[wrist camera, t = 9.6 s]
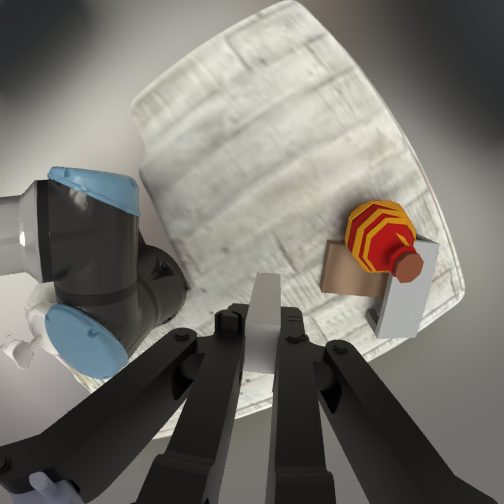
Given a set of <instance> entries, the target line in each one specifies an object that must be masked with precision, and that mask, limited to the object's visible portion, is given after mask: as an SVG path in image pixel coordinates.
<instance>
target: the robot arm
mask: <svg viewBox="0 0 504 504" xmlns="http://www.w3.org/2000/svg"><path fill="white" fill-rule="evenodd" d="M48 178H49V179H48V180H35V181H34V182H33V183H32V184H31V185H30V187H29V188H28V189H27V190H26V191H25V192H24V193H23V194H22V195H18V196H9V197H0V276H2V275H9V274H15V273H21V272H26V273H28V274H30V275H31V276H32V277H33V278H35V279H36V280H37V281H38V282H39V283H46V282H52V281H54V287H55V294H56V300H57V303H56V304H53V305H52V306H50V308H49V310H48V311H47V314H46V315H45V328H46V332H47V335H48V337H49V339H50V341H51V343H52V345H53V346H54V348H55V349H56V351H57V352H58V353H59V355H60V356H61V357H62V358H63V359H64V360H65V361H66V362H67V363H68V364H69V365H71V366H72V367H73V368H74V369H76V370H77V371H79V372H81V373H82V374H84V375H87V376H89V377H92V378H96V379H108V378H110V377H112V376H113V377H112V378H111V379H110V380H108V381H107V382H106V383H105V384H103V385H102V386H101V387H100V388H98V389H97V390H96V391H95V392H93V393H92V394H91V395H90V396H88V397H87V398H86V399H84V400H83V401H82V402H81V403H79V404H78V405H77V406H76V407H74V408H73V409H72V410H70V411H69V412H68V413H67V414H65V415H64V416H63V417H62V418H60V419H59V420H58V421H56V422H55V423H54V424H53V425H51V426H50V427H49V428H47V429H46V430H45V431H44V432H42V433H41V434H39V435H36V436H33V437H30V438H27V439H24V440H21V441H18V442H14V443H11V444H7V445H4V446H1V447H0V484H1V485H2V486H3V487H4V488H5V489H6V490H7V491H8V492H9V494H10V496H11V499H12V501H13V504H87V503H89V502H90V501H92V500H93V499H95V498H96V497H98V496H99V495H100V494H101V493H102V492H104V491H105V489H107V488H108V487H109V486H110V485H111V484H112V483H113V482H114V480H115V479H116V478H117V477H118V476H119V475H120V474H121V473H122V472H123V471H124V470H125V469H126V467H127V466H128V465H129V464H130V463H131V462H132V461H133V460H134V459H135V458H136V456H137V455H138V454H139V453H140V452H141V451H142V450H143V449H144V447H145V446H146V445H147V444H148V443H149V442H150V441H151V440H152V438H153V437H154V436H155V435H156V434H157V433H158V432H159V430H160V429H161V428H162V427H163V426H164V425H165V423H166V422H167V421H168V420H169V419H170V418H171V416H172V415H173V414H174V413H175V412H176V410H177V409H178V408H179V407H180V406H181V404H182V403H183V402H184V401H185V400H186V398H187V400H186V402H185V405H184V407H183V410H182V412H181V415H180V417H179V419H178V422H177V424H176V427H175V429H174V432H173V434H172V437H171V439H170V442H169V444H168V447H167V449H166V451H165V453H164V454H158V455H157V456H156V457H155V459H154V461H153V463H152V465H151V468H150V470H149V473H148V474H147V477H146V479H145V481H144V484H143V486H142V489H141V491H140V493H139V496H138V498H137V500H136V502H134V503H131V504H218V497H219V492H220V487H221V483H222V477H223V473H224V468H225V463H226V458H227V453H228V448H229V443H230V439H231V433H232V428H233V423H234V418H235V413H236V408H237V403H238V398H239V393H240V387H241V382H242V374H243V371H247V372H258V373H270V374H275V375H274V382H273V389H272V392H273V403H272V420H271V435H270V450H269V463H268V476H267V488H266V499H265V504H336V497H335V487H334V480H333V475H332V473H331V472H329V471H327V469H326V464H325V453H324V444H323V435H322V427H321V418H320V410H319V403H318V400H319V402H320V404H321V406H322V408H323V410H324V412H325V414H326V416H327V418H328V420H329V422H330V424H331V426H332V428H333V430H334V432H335V434H336V436H337V439H338V440H339V443H340V445H341V446H342V449H343V451H344V453H345V455H346V457H347V459H348V461H349V463H350V465H351V467H352V469H353V470H354V473H355V475H356V477H357V479H358V481H359V483H360V485H361V487H362V489H363V491H364V493H365V495H366V497H367V499H368V501H369V503H370V504H498V503H497V502H496V501H495V500H494V499H493V498H491V497H489V496H487V495H486V494H484V493H482V492H481V491H479V490H477V489H476V488H474V487H472V486H471V485H469V484H468V483H466V482H464V481H463V480H461V479H460V478H458V477H457V476H455V475H454V474H453V472H452V471H451V470H450V468H449V467H448V466H447V464H446V463H445V462H444V460H443V459H442V458H441V456H440V455H439V454H438V452H437V451H436V450H435V448H434V447H433V446H432V444H431V443H430V442H429V440H428V439H427V438H426V437H425V435H424V434H423V433H422V431H421V430H420V429H419V427H418V426H417V425H416V424H415V423H414V421H413V420H412V418H411V417H410V416H409V415H408V413H407V412H406V411H405V410H404V408H403V407H402V406H401V404H400V403H399V402H398V401H397V399H396V398H395V397H394V396H393V394H392V393H391V392H390V391H389V389H388V388H387V387H386V386H385V384H384V383H383V382H382V381H381V380H380V378H379V377H378V375H377V374H376V373H375V372H374V370H373V369H372V368H371V367H370V366H369V364H368V363H367V362H366V361H365V359H364V358H363V357H362V356H361V354H360V353H359V352H358V351H357V349H356V348H355V347H354V346H353V345H352V344H351V343H349V342H347V341H344V340H332V341H329V342H328V343H326V346H325V347H324V346H319V345H316V344H313V343H311V342H310V341H309V337H308V335H306V334H305V330H304V323H303V318H302V312H301V311H300V310H299V309H298V308H296V307H281V291H280V274H269V273H257V275H256V279H255V283H254V288H253V292H252V296H251V301H250V305H247V304H236V303H233V304H232V305H230V306H229V307H228V309H226V310H221V311H219V312H217V313H216V314H215V332H214V334H213V335H211V336H205V337H197V333H196V332H195V331H194V330H192V329H189V328H176V329H173V330H171V331H169V332H168V333H167V334H166V335H165V336H163V337H162V338H161V339H160V340H158V341H157V342H156V343H155V344H153V345H152V346H151V347H150V348H148V349H147V350H146V351H145V352H143V353H142V354H141V355H140V356H138V357H137V358H136V359H135V360H133V361H132V362H131V363H130V364H128V365H127V366H126V364H127V363H128V360H129V358H130V357H131V356H132V355H133V353H134V352H135V351H136V349H137V348H138V347H139V346H140V344H141V343H142V342H143V341H144V339H145V338H146V337H147V335H148V334H149V333H150V332H151V330H152V329H153V328H156V327H158V326H161V325H163V324H166V323H168V322H169V321H171V320H172V319H173V318H174V317H175V316H176V315H177V314H178V312H179V311H180V310H181V308H182V306H183V304H184V302H185V298H186V283H185V279H184V276H183V273H182V271H181V269H180V268H179V266H178V264H177V263H176V262H175V261H174V259H173V258H172V257H171V256H170V255H168V254H167V253H165V252H164V251H163V250H161V249H159V248H156V247H153V246H150V245H138V224H139V217H140V213H139V204H138V203H139V202H138V201H139V189H138V185H137V183H136V182H135V180H134V179H133V178H131V177H129V176H125V175H121V174H115V173H109V172H102V171H95V170H87V169H77V168H64V167H52V168H51V169H50V171H49V173H48ZM124 366H126V367H125V368H123V369H122V370H121V371H120V372H118V371H119V370H120V369H121V368H122V367H124ZM117 372H118V373H117ZM116 373H117V374H116ZM115 374H116V375H115ZM114 375H115V376H114Z"/></svg>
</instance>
